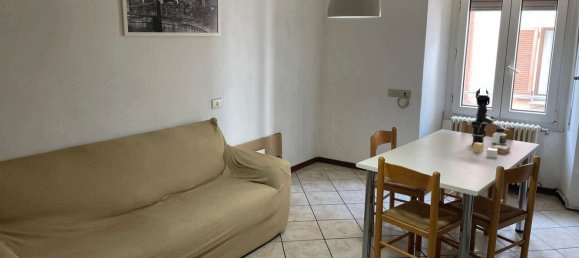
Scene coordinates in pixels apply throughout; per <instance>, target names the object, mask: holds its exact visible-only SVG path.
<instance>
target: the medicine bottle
mask: <svg viewBox="0 0 579 258" xmlns="http://www.w3.org/2000/svg"><path fill="white" fill-rule="evenodd" d="M505 132H506V129H505V128H504V127H501V126H500V127H496V128H495V133H492V140H491V142H492V144H495V145H506V144H507V139H508V134H505Z"/></svg>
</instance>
